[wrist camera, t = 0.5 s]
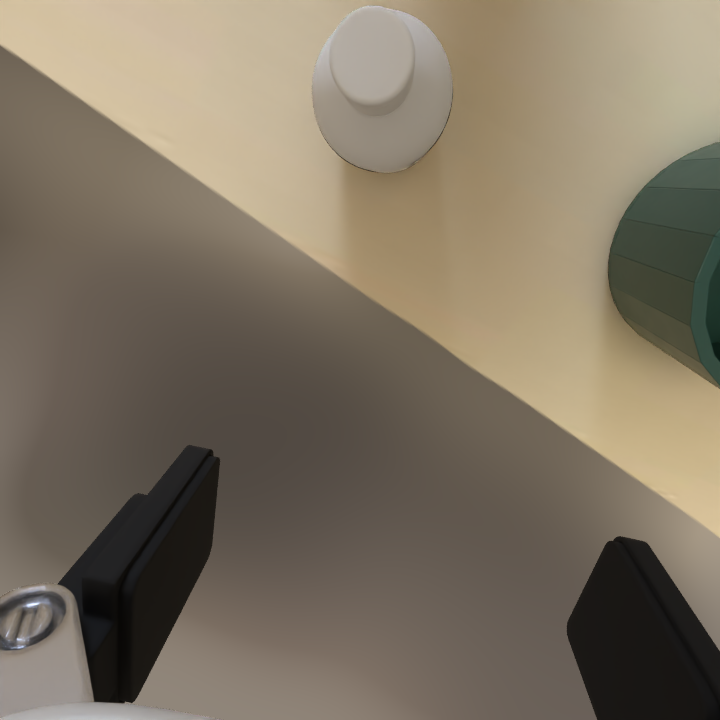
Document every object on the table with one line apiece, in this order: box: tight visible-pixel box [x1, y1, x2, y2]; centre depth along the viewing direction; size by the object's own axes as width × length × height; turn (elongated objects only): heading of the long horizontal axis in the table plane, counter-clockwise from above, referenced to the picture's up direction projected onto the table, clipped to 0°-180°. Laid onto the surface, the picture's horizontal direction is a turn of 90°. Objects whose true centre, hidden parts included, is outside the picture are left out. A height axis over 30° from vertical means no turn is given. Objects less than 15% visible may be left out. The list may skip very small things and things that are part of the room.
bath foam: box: [312, 6, 453, 173], centre depth 25 cm, size 7×7×20 cm
